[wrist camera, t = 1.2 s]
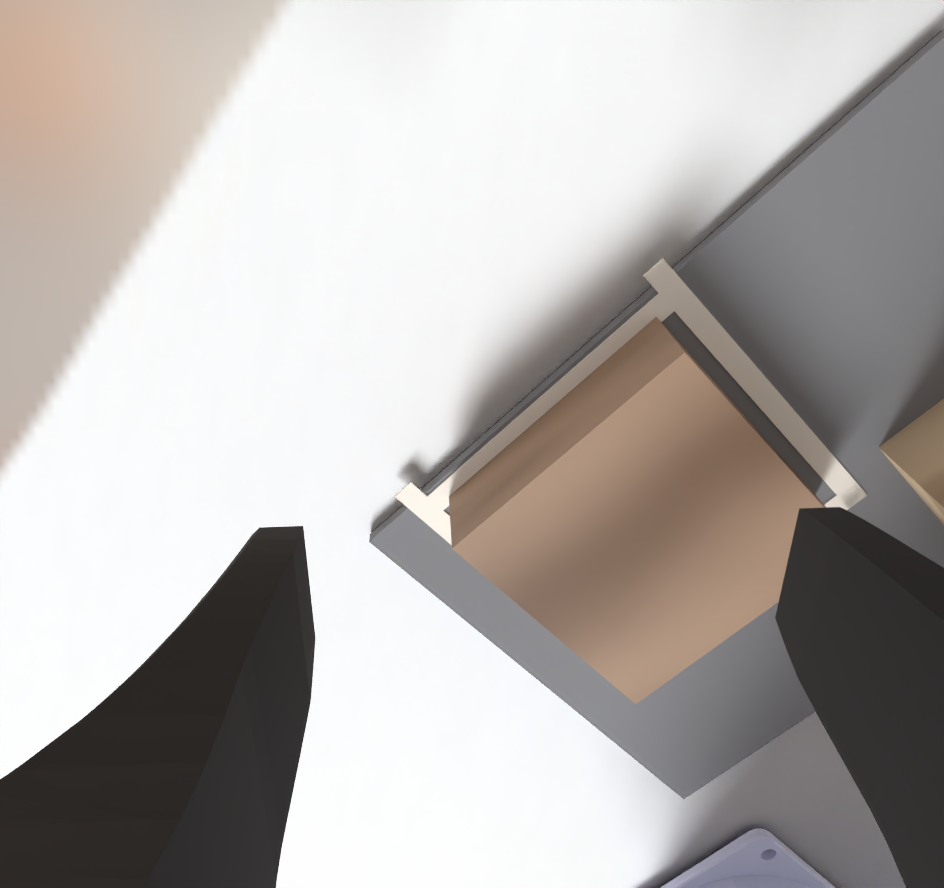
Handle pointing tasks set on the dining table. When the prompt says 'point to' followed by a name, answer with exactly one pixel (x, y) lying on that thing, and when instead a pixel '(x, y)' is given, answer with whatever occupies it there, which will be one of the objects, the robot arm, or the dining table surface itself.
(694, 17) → the dining table surface
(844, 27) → the dining table surface
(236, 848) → the robot arm
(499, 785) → the dining table surface
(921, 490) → the oak cube
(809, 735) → the dining table surface
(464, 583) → the mat
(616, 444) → the walnut slab
